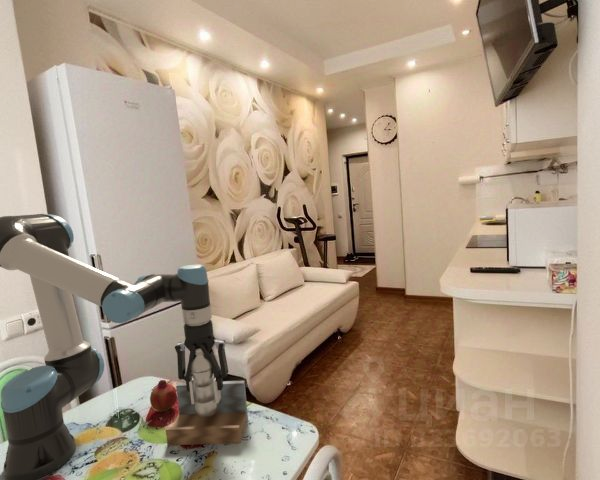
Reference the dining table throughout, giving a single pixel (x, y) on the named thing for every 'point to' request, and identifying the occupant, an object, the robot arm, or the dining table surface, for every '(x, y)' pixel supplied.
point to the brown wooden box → (210, 418)
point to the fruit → (163, 396)
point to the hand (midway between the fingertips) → (206, 400)
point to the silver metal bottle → (203, 385)
